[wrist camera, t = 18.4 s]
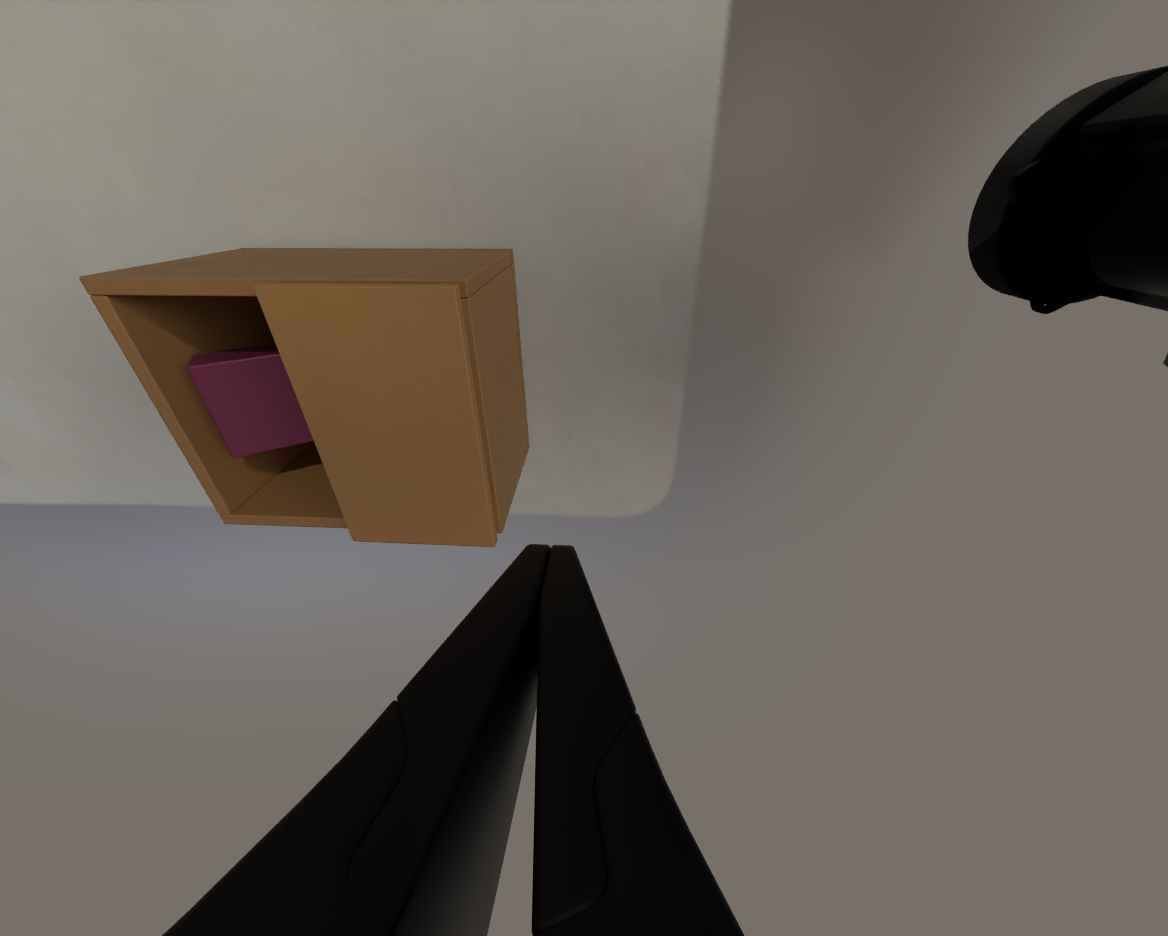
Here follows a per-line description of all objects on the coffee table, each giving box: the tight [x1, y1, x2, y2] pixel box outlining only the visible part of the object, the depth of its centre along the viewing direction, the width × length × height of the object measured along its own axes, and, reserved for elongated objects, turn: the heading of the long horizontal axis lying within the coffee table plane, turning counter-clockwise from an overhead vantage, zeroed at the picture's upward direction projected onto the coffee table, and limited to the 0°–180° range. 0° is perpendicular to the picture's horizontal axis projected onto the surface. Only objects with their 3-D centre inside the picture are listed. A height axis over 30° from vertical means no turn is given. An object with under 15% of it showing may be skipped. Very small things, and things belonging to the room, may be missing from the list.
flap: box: [253, 283, 497, 547], centre depth 14 cm, size 5×9×1 cm, turn 0°
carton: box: [79, 248, 529, 533], centre depth 17 cm, size 11×9×6 cm
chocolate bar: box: [186, 343, 314, 458], centre depth 17 cm, size 4×8×2 cm
